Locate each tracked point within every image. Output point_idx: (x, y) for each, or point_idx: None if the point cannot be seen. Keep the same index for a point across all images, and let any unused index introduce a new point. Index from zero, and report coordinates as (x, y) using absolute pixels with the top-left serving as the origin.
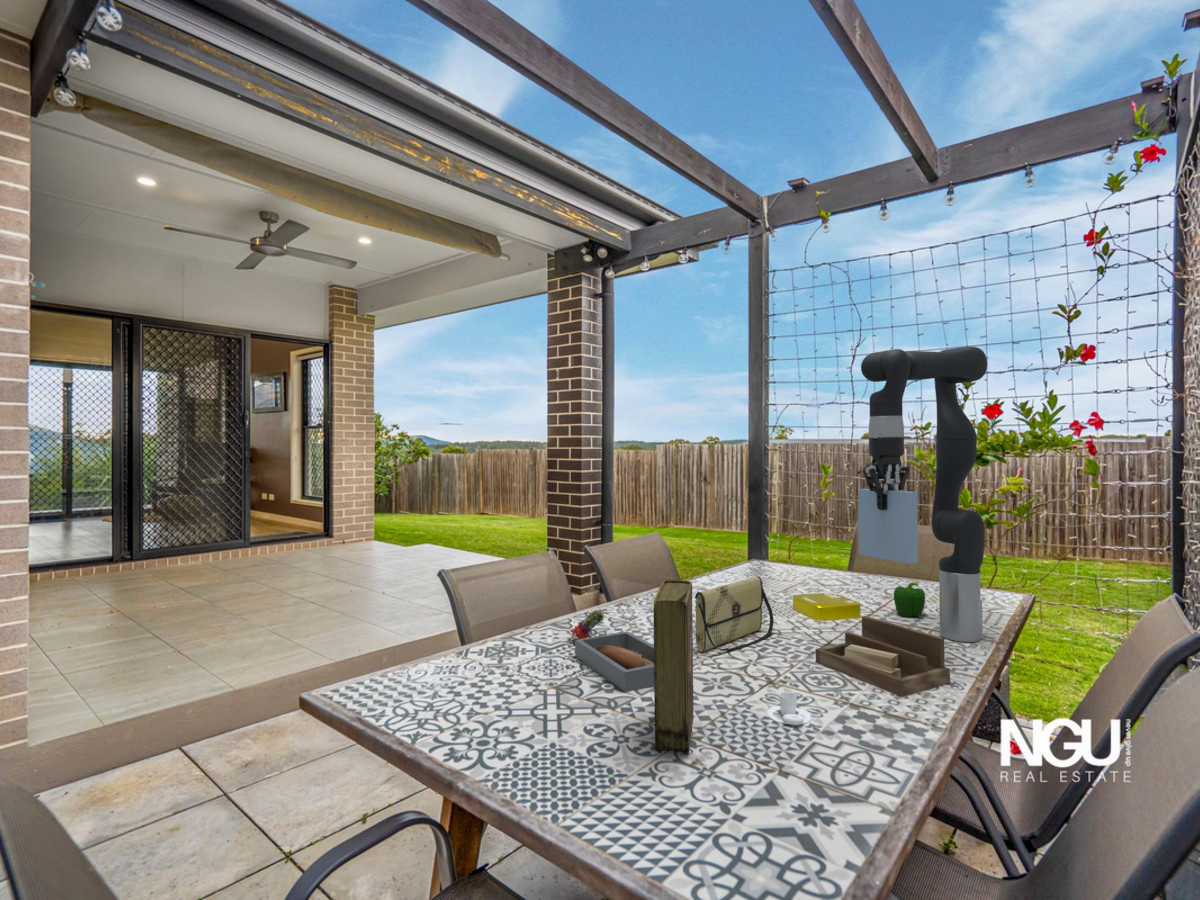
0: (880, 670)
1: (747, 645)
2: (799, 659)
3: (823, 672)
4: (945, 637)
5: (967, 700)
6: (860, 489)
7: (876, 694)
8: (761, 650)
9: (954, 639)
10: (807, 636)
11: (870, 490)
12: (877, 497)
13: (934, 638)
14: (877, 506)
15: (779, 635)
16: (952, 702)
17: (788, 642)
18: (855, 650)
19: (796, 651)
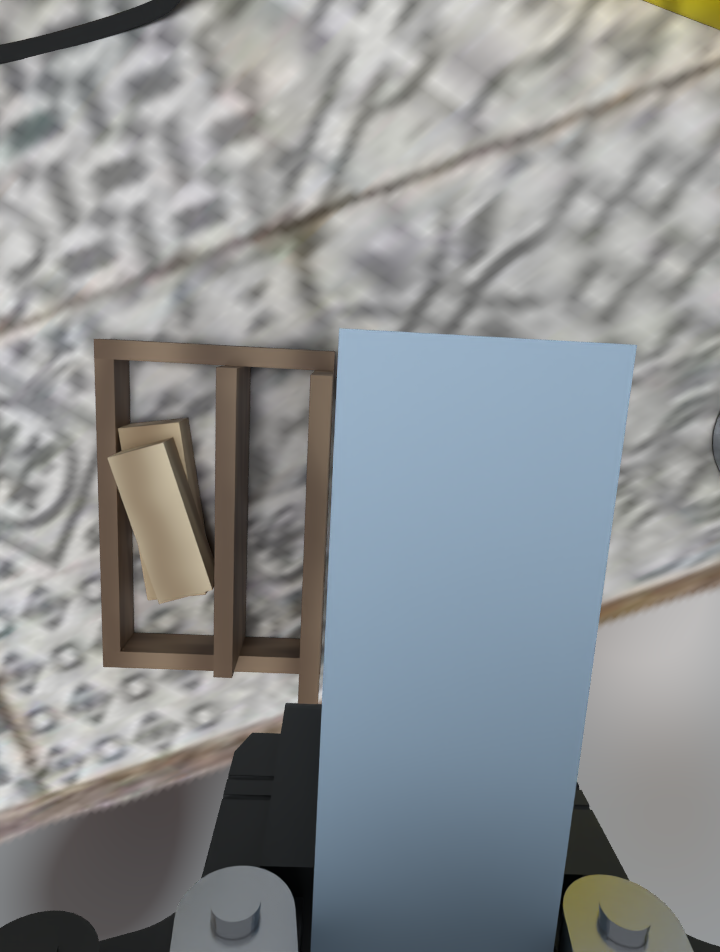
0: (142, 569)
1: (1, 59)
2: (79, 289)
3: (61, 418)
4: (718, 419)
5: (245, 737)
6: (337, 403)
7: (69, 605)
8: (19, 135)
9: (715, 452)
10: (309, 106)
11: (5, 936)
12: (214, 853)
13: (299, 682)
14: (244, 745)
15: (218, 26)
16: (200, 726)
17: (183, 121)
18: (120, 493)
19: (132, 219)
